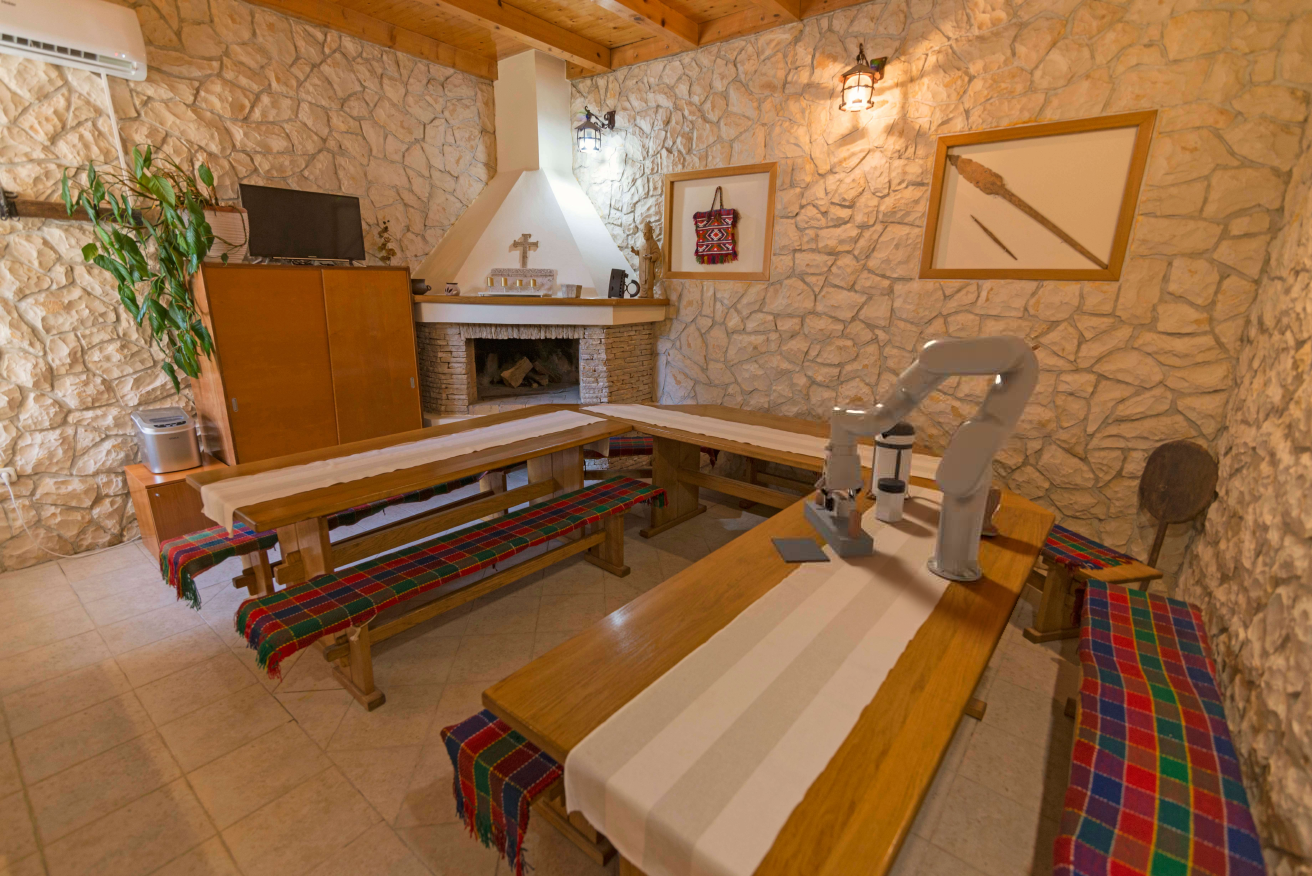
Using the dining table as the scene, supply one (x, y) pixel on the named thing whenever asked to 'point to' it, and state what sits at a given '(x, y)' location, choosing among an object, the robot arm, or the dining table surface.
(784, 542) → the rubber mat
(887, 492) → the jar
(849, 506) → the light grey box
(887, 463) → the coffee press
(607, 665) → the dining table surface
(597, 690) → the dining table surface
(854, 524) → the body
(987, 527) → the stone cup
